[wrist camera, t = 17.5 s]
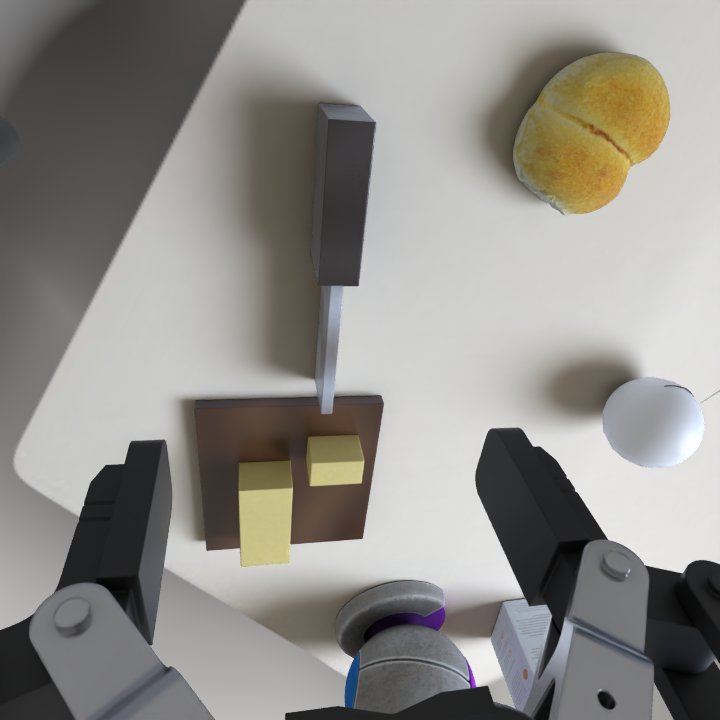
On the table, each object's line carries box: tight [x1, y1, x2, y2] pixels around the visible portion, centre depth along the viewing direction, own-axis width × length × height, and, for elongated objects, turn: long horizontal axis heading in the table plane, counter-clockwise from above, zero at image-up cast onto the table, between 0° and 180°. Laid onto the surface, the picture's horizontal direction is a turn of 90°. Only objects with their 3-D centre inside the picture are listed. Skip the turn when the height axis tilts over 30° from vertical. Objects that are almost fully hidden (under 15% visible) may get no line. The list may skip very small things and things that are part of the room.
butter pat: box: [306, 435, 364, 486], centre depth 42 cm, size 4×2×3 cm, turn 84°
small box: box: [491, 599, 551, 712], centre depth 61 cm, size 8×6×10 cm
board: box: [195, 396, 384, 551], centre depth 45 cm, size 14×16×1 cm
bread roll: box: [513, 52, 670, 216], centre depth 32 cm, size 8×9×4 cm
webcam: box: [335, 581, 476, 714], centre depth 55 cm, size 13×13×15 cm
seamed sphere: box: [602, 377, 720, 468], centre depth 44 cm, size 10×7×7 cm
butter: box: [238, 461, 293, 567], centre depth 44 cm, size 4×9×3 cm, turn 174°
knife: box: [311, 103, 376, 414], centre depth 34 cm, size 19×2×4 cm, turn 174°
